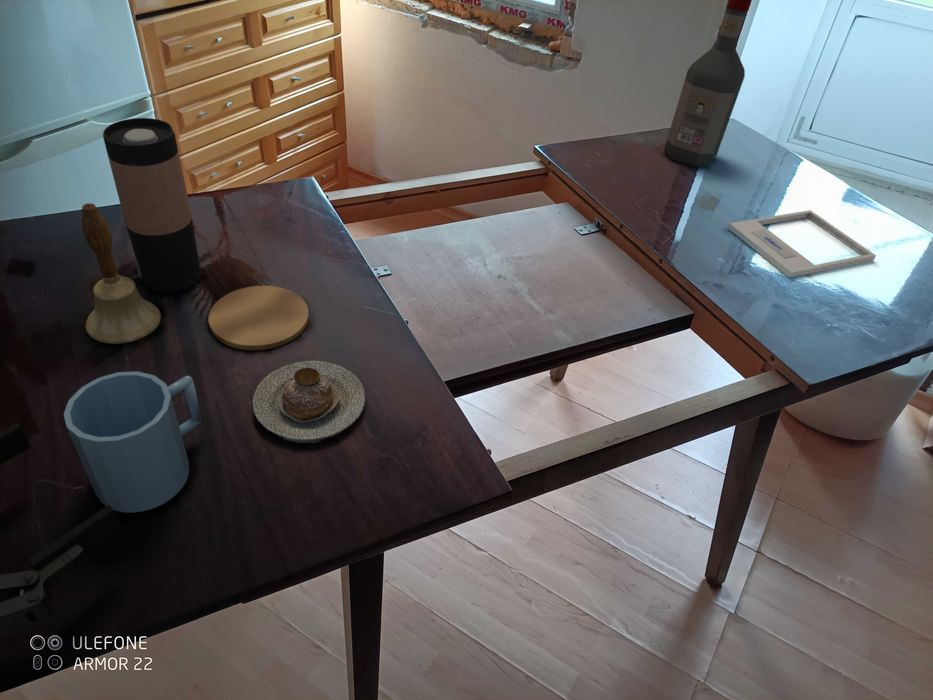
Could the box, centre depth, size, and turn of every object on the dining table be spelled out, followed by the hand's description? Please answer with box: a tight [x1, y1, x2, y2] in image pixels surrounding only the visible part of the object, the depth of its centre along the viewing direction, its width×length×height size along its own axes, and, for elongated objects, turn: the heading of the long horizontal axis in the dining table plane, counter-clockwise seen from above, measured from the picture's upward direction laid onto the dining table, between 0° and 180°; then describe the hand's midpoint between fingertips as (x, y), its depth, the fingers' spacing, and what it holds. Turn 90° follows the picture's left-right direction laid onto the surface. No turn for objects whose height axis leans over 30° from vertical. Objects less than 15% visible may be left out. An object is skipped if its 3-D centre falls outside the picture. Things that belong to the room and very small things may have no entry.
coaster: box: [207, 285, 310, 351], centre depth 85 cm, size 12×12×1 cm
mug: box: [63, 371, 203, 514], centre depth 64 cm, size 11×8×10 cm
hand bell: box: [81, 202, 162, 345], centre depth 77 cm, size 8×8×16 cm
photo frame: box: [727, 209, 877, 279], centre depth 111 cm, size 15×1×18 cm
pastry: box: [252, 360, 366, 444], centre depth 74 cm, size 12×12×5 cm
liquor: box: [663, 0, 753, 168], centre depth 125 cm, size 9×9×30 cm
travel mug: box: [102, 117, 201, 293], centre depth 84 cm, size 8×8×20 cm
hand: (68, 473), depth 59 cm, fingers open, 13 cm apart
